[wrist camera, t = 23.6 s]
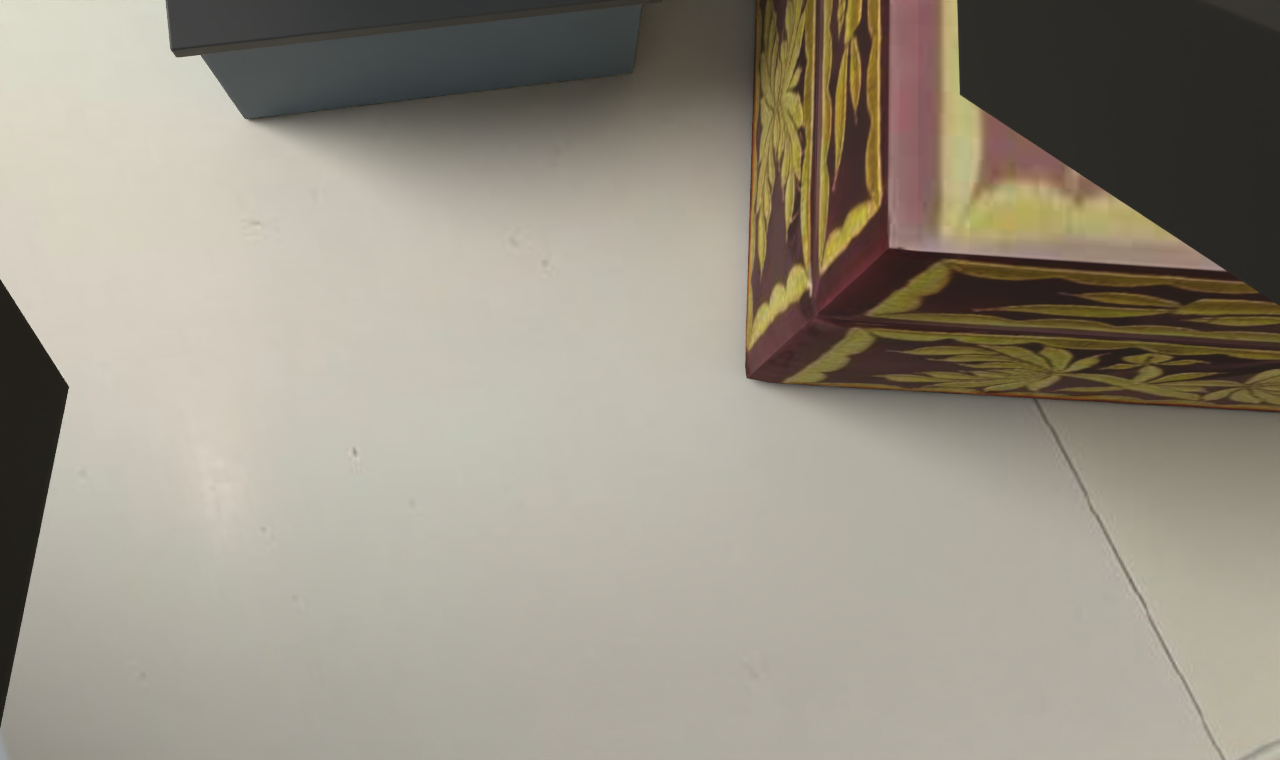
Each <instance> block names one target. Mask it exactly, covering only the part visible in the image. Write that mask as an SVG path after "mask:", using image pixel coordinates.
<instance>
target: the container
mask: <svg viewBox="0 0 1280 760" xmlns="http://www.w3.org/2000/svg"><path fill="white" fill-rule="evenodd" d="M661 1H662V0H166V8H167V18H168V29H169V39H170V49H171V51H172V52H173V53H174V55H175V56H176V57H186V56H194V55H201V56H202V58H203V59H204V61H205V62H206V64H207V65H208V66H209V68H210V69H211V71H212V72H213V74H214V75H215V77H216V78H217V79H218V81H219V82H220V84H221V85H222V87H223V88H224V90H225V91H226V92H227V94H228V95H229V97H230V98H231V100H232V101H233V103H234V104H235V105H236V107H237V108H238V110H239V111H240V113H241V114H242V116H243V117H244V118H245V119H251V118H259V117H268V116H276V115H285V114H293V113H301V112H310V111H318V110H326V109H335V108H343V107H351V106H360V105H368V104H376V103H385V102H393V101H401V100H410V99H418V98H427V97H435V96H443V95H452V94H460V93H468V92H477V91H485V90H493V89H502V88H510V87H518V86H527V85H535V84H543V83H552V82H560V81H568V80H577V79H585V78H594V77H602V76H610V75H619V74H627V73H632V72H633V68H634V61H635V54H636V47H637V39H638V32H639V25H640V18H641V11H642V4H650V3H659V2H661Z"/></svg>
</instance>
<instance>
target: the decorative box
mask: <svg viewBox="0 0 1280 760" xmlns="http://www.w3.org/2000/svg"><path fill="white" fill-rule="evenodd" d="M745 368H746V376H747V378H749V379H755V380H761V381H765V382H775V383H791V384H807V385H823V386H839V387H855V388H872V389H889V390H906V391H923V392H941V393H958V394H975V395H993V396H1010V397H1027V398H1045V399H1062V400H1079V401H1097V402H1114V403H1131V404H1149V405H1166V406H1183V407H1201V408H1218V409H1235V410H1253V411H1270V412H1280V306H1279V305H1277V304H1276V303H1274V302H1273V301H1271V300H1270V299H1268V298H1267V297H1265V296H1264V295H1262V294H1261V293H1259V292H1258V291H1256V290H1255V289H1253V288H1252V287H1250V286H1249V285H1247V284H1246V283H1244V282H1243V281H1241V280H1240V279H1238V278H1237V277H1235V276H1233V275H1232V274H1230V273H1229V272H1227V271H1226V270H1224V269H1223V268H1221V267H1220V266H1218V265H1217V264H1215V263H1214V262H1212V261H1211V260H1209V259H1208V258H1206V257H1205V256H1203V255H1202V254H1200V253H1199V252H1197V251H1196V250H1194V249H1193V248H1191V247H1190V246H1188V245H1187V244H1185V243H1183V242H1182V241H1180V240H1179V239H1177V238H1176V237H1174V236H1173V235H1171V234H1170V233H1168V232H1167V231H1165V230H1164V229H1162V228H1161V227H1159V226H1158V225H1156V224H1155V223H1153V222H1152V221H1150V220H1149V219H1147V218H1146V217H1144V216H1143V215H1141V214H1140V213H1138V212H1137V211H1135V210H1133V209H1132V208H1130V207H1129V206H1127V205H1126V204H1124V203H1123V202H1121V201H1120V200H1118V199H1117V198H1115V197H1114V196H1112V195H1111V194H1109V193H1108V192H1106V191H1105V190H1103V189H1102V188H1100V187H1099V186H1097V185H1096V184H1094V183H1093V182H1091V181H1090V180H1088V179H1087V178H1085V177H1083V176H1082V175H1080V174H1079V173H1077V172H1076V171H1074V170H1073V169H1071V168H1070V167H1068V166H1067V165H1065V164H1064V163H1062V162H1061V161H1059V160H1058V159H1056V158H1055V157H1053V156H1052V155H1050V154H1049V153H1047V152H1046V151H1044V150H1043V149H1041V148H1040V147H1038V146H1036V145H1035V144H1033V143H1032V142H1030V141H1029V140H1027V139H1026V138H1024V137H1023V136H1021V135H1020V134H1018V133H1017V132H1015V131H1014V130H1012V129H1011V128H1009V127H1008V126H1006V125H1005V124H1003V123H1002V122H1000V121H999V120H997V119H996V118H994V117H993V116H991V115H990V114H988V113H986V112H985V111H983V110H982V109H980V108H979V107H977V106H976V105H974V104H973V103H971V102H970V101H968V100H967V99H965V98H964V97H962V96H961V95H960V85H959V48H958V12H957V0H756V25H755V58H754V91H753V123H752V156H751V189H750V221H749V254H748V287H747V319H746V364H745Z"/></svg>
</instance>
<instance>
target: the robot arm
mask: <svg viewBox="0 0 1280 760" xmlns="http://www.w3.org/2000/svg"><path fill="white" fill-rule="evenodd" d="M957 12H958V48H959V85H960V95H961V96H962V97H964V98H965V99H967V100H968V101H970V102H971V103H973V104H974V105H976V106H977V107H979V108H980V109H982V110H983V111H985V112H986V113H988V114H990V115H991V116H993V117H994V118H996V119H997V120H999V121H1000V122H1002V123H1003V124H1005V125H1006V126H1008V127H1009V128H1011V129H1012V130H1014V131H1015V132H1017V133H1018V134H1020V135H1021V136H1023V137H1024V138H1026V139H1027V140H1029V141H1030V142H1032V143H1033V144H1035V145H1036V146H1038V147H1040V148H1041V149H1043V150H1044V151H1046V152H1047V153H1049V154H1050V155H1052V156H1053V157H1055V158H1056V159H1058V160H1059V161H1061V162H1062V163H1064V164H1065V165H1067V166H1068V167H1070V168H1071V169H1073V170H1074V171H1076V172H1077V173H1079V174H1080V175H1082V176H1083V177H1085V178H1087V179H1088V180H1090V181H1091V182H1093V183H1094V184H1096V185H1097V186H1099V187H1100V188H1102V189H1103V190H1105V191H1106V192H1108V193H1109V194H1111V195H1112V196H1114V197H1115V198H1117V199H1118V200H1120V201H1121V202H1123V203H1124V204H1126V205H1127V206H1129V207H1130V208H1132V209H1133V210H1135V211H1137V212H1138V213H1140V214H1141V215H1143V216H1144V217H1146V218H1147V219H1149V220H1150V221H1152V222H1153V223H1155V224H1156V225H1158V226H1159V227H1161V228H1162V229H1164V230H1165V231H1167V232H1168V233H1170V234H1171V235H1173V236H1174V237H1176V238H1177V239H1179V240H1180V241H1182V242H1183V243H1185V244H1187V245H1188V246H1190V247H1191V248H1193V249H1194V250H1196V251H1197V252H1199V253H1200V254H1202V255H1203V256H1205V257H1206V258H1208V259H1209V260H1211V261H1212V262H1214V263H1215V264H1217V265H1218V266H1220V267H1221V268H1223V269H1224V270H1226V271H1227V272H1229V273H1230V274H1232V275H1233V276H1235V277H1237V278H1238V279H1240V280H1241V281H1243V282H1244V283H1246V284H1247V285H1249V286H1250V287H1252V288H1253V289H1255V290H1256V291H1258V292H1259V293H1261V294H1262V295H1264V296H1265V297H1267V298H1268V299H1270V300H1271V301H1273V302H1274V303H1276V304H1277V305H1279V306H1280V0H957ZM68 389H69V386H68V385H67V383H66V382H65V380H64V378H63V377H62V375H61V374H60V372H59V371H58V369H57V367H56V366H55V364H54V363H53V361H52V360H51V358H50V356H49V355H48V353H47V352H46V350H45V349H44V347H43V345H42V344H41V342H40V341H39V339H38V338H37V336H36V334H35V333H34V331H33V330H32V328H31V327H30V325H29V324H28V322H27V320H26V319H25V317H24V316H23V314H22V313H21V311H20V309H19V308H18V306H17V305H16V303H15V302H14V300H13V298H12V297H11V295H10V294H9V292H8V291H7V289H6V287H5V286H4V284H3V283H2V281H1V280H0V726H1V721H2V716H3V711H4V706H5V702H6V697H7V692H8V687H9V682H10V677H11V672H12V667H13V662H14V657H15V652H16V647H17V642H18V637H19V632H20V627H21V622H22V617H23V612H24V607H25V602H26V597H27V592H28V587H29V582H30V577H31V573H32V568H33V563H34V558H35V553H36V548H37V543H38V538H39V533H40V528H41V523H42V518H43V513H44V508H45V503H46V498H47V493H48V488H49V483H50V478H51V473H52V468H53V463H54V458H55V453H56V448H57V443H58V439H59V434H60V429H61V424H62V419H63V414H64V409H65V404H66V399H67V394H68Z"/></svg>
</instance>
